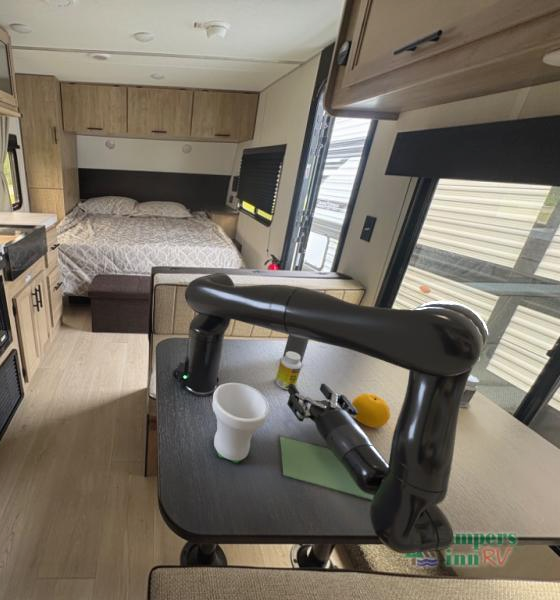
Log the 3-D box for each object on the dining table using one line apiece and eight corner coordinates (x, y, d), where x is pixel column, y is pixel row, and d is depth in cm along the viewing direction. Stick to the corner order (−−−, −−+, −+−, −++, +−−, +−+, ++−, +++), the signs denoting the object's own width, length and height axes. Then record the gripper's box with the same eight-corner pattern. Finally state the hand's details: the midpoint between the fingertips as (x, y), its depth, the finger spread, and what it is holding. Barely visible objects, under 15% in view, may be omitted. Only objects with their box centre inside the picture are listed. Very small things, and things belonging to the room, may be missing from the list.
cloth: (283, 475, 62) (283, 474, 62) (279, 437, 71) (279, 436, 71) (381, 503, 58) (382, 502, 58) (364, 458, 67) (365, 457, 67)
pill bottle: (466, 401, 86) (481, 377, 83) (466, 409, 83) (482, 385, 79) (445, 392, 89) (458, 369, 86) (444, 400, 86) (458, 377, 82)
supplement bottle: (287, 393, 85) (295, 363, 81) (271, 381, 89) (278, 352, 85) (299, 386, 88) (307, 357, 84) (282, 375, 92) (290, 347, 88)
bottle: (280, 356, 102) (290, 317, 95) (298, 358, 101) (309, 319, 95) (284, 367, 96) (295, 326, 90) (303, 369, 96) (315, 328, 89)
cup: (194, 443, 68) (201, 394, 62) (227, 421, 74) (236, 375, 69) (233, 482, 60) (246, 430, 54) (266, 454, 66) (280, 405, 61)
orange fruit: (386, 419, 78) (397, 397, 75) (382, 438, 72) (394, 415, 69) (351, 404, 82) (360, 382, 79) (345, 420, 77) (354, 397, 74)
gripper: (383, 424, 62) (336, 374, 77) (317, 425, 61) (282, 374, 76) (370, 450, 65) (328, 397, 80) (308, 451, 64) (276, 397, 79)
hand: (306, 386), depth 78 cm, fingers open, 8 cm apart
